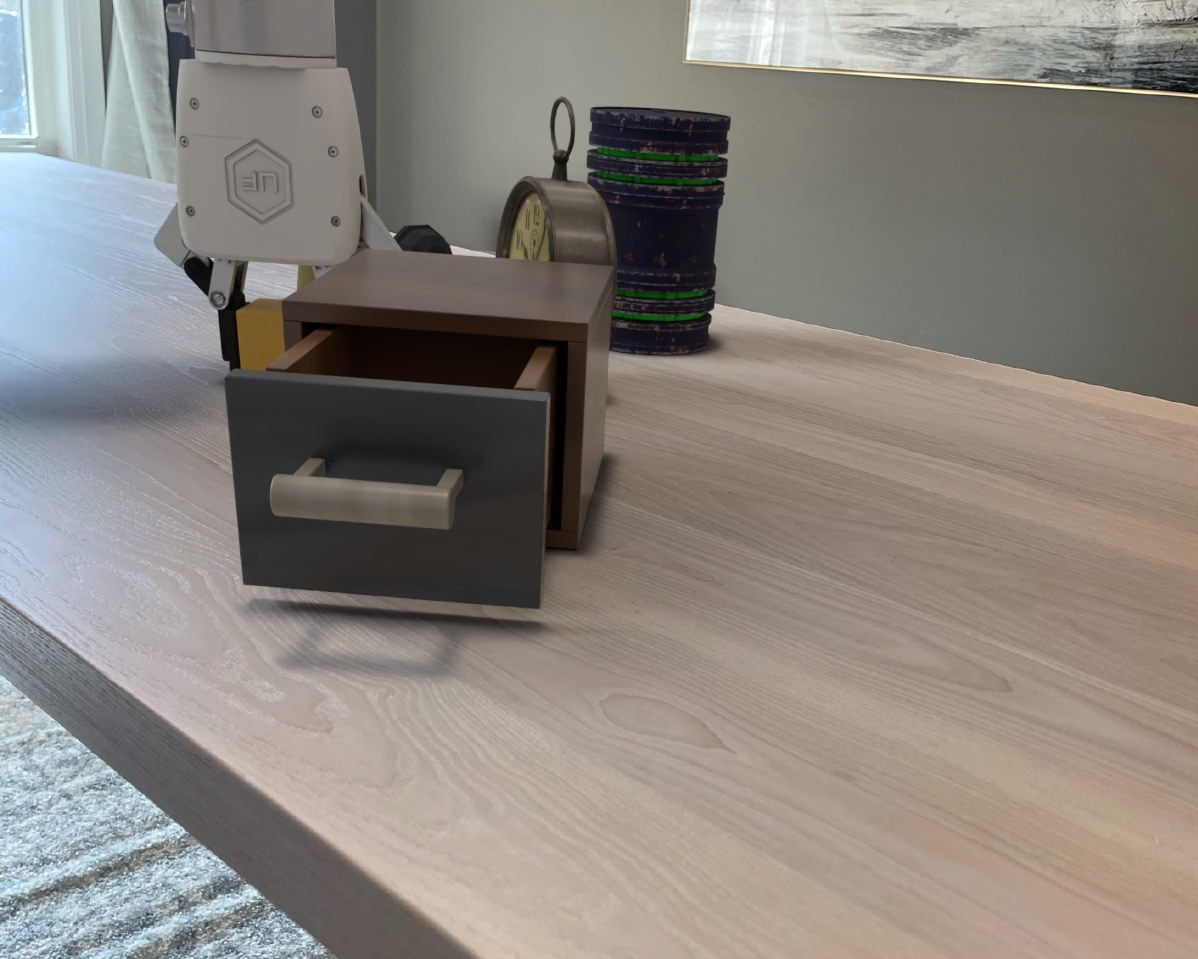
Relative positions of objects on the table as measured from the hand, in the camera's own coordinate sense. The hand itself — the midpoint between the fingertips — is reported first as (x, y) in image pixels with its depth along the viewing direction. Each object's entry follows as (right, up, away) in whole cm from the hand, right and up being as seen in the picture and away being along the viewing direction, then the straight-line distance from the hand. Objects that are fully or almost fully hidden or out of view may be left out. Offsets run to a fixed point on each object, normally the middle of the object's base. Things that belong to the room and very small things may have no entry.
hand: (288, 375), depth 79 cm
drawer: (+12, -16, -26) cm, 33 cm away
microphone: (+1, +18, +30) cm, 35 cm away
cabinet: (+12, -11, -16) cm, 23 cm away
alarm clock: (+16, 0, +3) cm, 17 cm away
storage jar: (+22, +8, +17) cm, 29 cm away
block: (0, 0, 0) cm, 0 cm away
